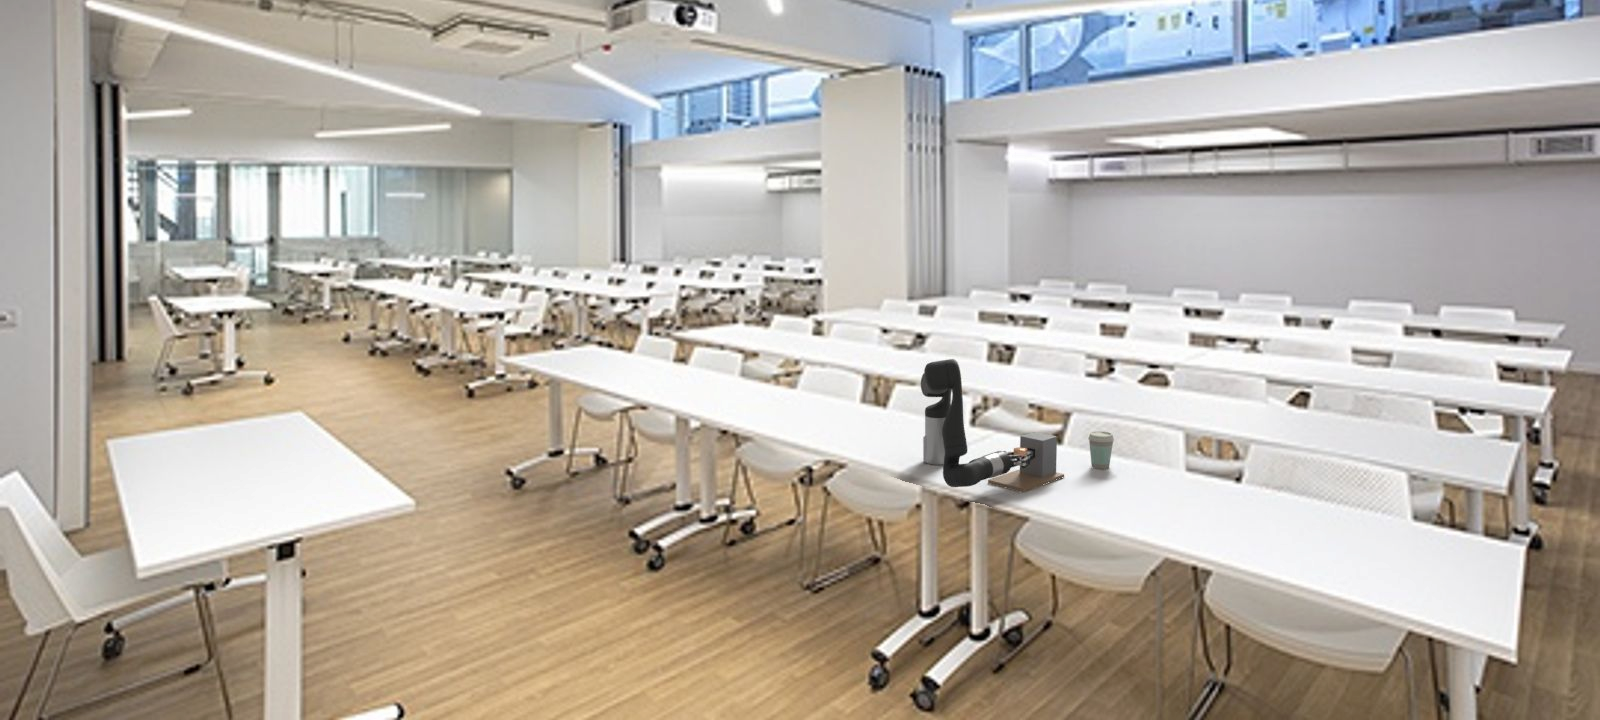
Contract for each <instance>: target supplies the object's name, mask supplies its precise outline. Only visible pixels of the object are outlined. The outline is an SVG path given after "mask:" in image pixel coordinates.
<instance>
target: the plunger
mask: <svg viewBox="0 0 1600 720" xmlns="http://www.w3.org/2000/svg"><path fill="white" fill-rule="evenodd" d="M1013 452H1014V455H1018V454H1019V455H1026V454H1029V453H1032V454H1033V455H1035V449H1032V450H1029V451H1027V449H1026V448H1022V447H1020V446H1019V447H1014V448H1013ZM1022 459H1023V458H1022ZM1020 466H1021V465H1020ZM1020 466H1019V467H1020Z"/></svg>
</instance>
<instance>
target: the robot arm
mask: <svg viewBox="0 0 1600 720" xmlns="http://www.w3.org/2000/svg"><path fill="white" fill-rule="evenodd" d="M920 379H921V380H920V388H921V389H920V390H921V393H922V395H923V396H924V397H927V398H941V399H940V400H939V401H938V402H935V403H933V404H930V405H927V406H926V407H925V409H924V436H923V439H922V444H923V449H922V450H923V455H922V456H923V458H922V459H923V463H925V464H928V465H933V466H934V465H935V466H936V465H937V466H942V465H943V467H942V477H943V479H944V481H945V483H946V485H947V486H948V487H950V488H961V487H962V488H966V487H971V486H974V485H975V486H976V485H977V484H979V483H980V482H981V481H985V480H987V479H988V480H989V479H992V478H995V477H998V476H1001V475H1004V474H1007V473H1009V472H1010V470H1011V469H1012V468H1015V467H1018V466H1019V467H1020V465H1021V468H1026V467H1027V466H1028V465H1030V460H1032V459H1033V454H1032V453H1029V454H1026V455H1019V454H1018V455H1014V451H1006V450H998V451H995V452H990V453H988V454H985V455H983V456H980V457H977V458H974V459H972V460H970V461H968V462H967V463H960V457H962V456H965V455H967V453H968V444H967V443H968V442H967V438H966V437H967V436H966V431H965V425H964V424H965V423H964V403H963V402H964V401H963V400H964V399H963V384H962V374H961V369H960V365H959V362H958V361H957V360H956V359H954V358H952V359H951V358H949V359H945V360H943V359H942V360H936V361H931V362H929V363H927V364H926V365H925V367H924V371H923V374H922V376H921V378H920ZM951 397H952V398H951ZM1022 458H1023V459H1022Z"/></svg>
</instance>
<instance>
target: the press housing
mask: <svg viewBox="0 0 1600 720" xmlns="http://www.w3.org/2000/svg"><path fill="white" fill-rule="evenodd" d="M1019 437H1020V438H1019V447H1022V448H1026V449H1027V451H1029V450H1032V449H1035V455H1033V459H1032V460H1030V465H1028V466H1027V467H1026V468H1021V466H1019V469H1016V470H1014V471H1011V472H1010V471H1009V472H1007V473H1005V474H1002V475H999V476H996V477H993V478H988V480H987V484H988V485H993V484H994V486H997V485H998V486H997V487H1001V486H1002V487H1001V488H1004V487H1006V488H1005V489H1008V488H1010V489H1009V490H1012V489H1013V491H1016V490H1017V491H1016V492H1020V491H1021V493H1026V492H1028V490H1029V491H1031V490H1033V488H1034V489H1037V488H1039V486H1040V487H1042V486H1044V485H1043V484H1045V485H1047V484H1046V483H1048V482H1051V481H1053V482H1055V481H1054V480H1056V479H1059V478H1062V477H1064V478H1065V473H1061V472H1057V455H1058V454H1057V453H1058V451H1057V450H1058V449H1057V447H1058V436H1056V435H1051V434H1046V433H1041V432H1036V431H1034V432H1030V433H1026V434H1023V435H1020V436H1019ZM1062 479H1063V478H1062ZM1059 480H1060V479H1059ZM1056 481H1057V480H1056ZM1051 483H1052V482H1051ZM1048 484H1049V483H1048ZM1041 485H1042V486H1041ZM1036 487H1037V488H1036ZM1025 491H1026V492H1025Z"/></svg>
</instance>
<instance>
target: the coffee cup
mask: <svg viewBox="0 0 1600 720" xmlns="http://www.w3.org/2000/svg"><path fill="white" fill-rule="evenodd" d="M1088 441H1089V452H1090V463H1091V465H1090V466H1091V468H1092V467H1093V469H1095V468H1097V469H1096V470H1108V469H1110V464H1111V457H1112V450H1113V443H1114V441H1115V437H1114V435H1113V433H1111V432H1110V431H1109V432H1108V431H1102V430H1101V431H1091V432H1090V433H1089V436H1088Z"/></svg>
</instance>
